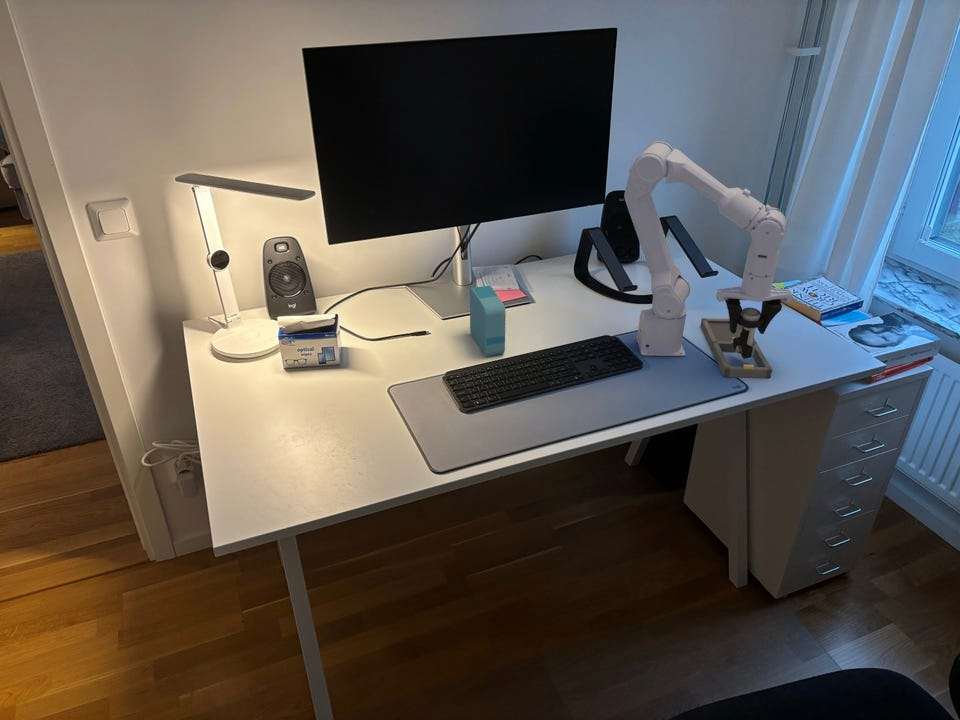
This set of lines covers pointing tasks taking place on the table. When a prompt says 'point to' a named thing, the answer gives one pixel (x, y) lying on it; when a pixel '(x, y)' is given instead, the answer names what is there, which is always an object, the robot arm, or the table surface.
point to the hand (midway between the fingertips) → (746, 331)
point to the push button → (747, 331)
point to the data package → (487, 320)
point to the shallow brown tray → (732, 350)
